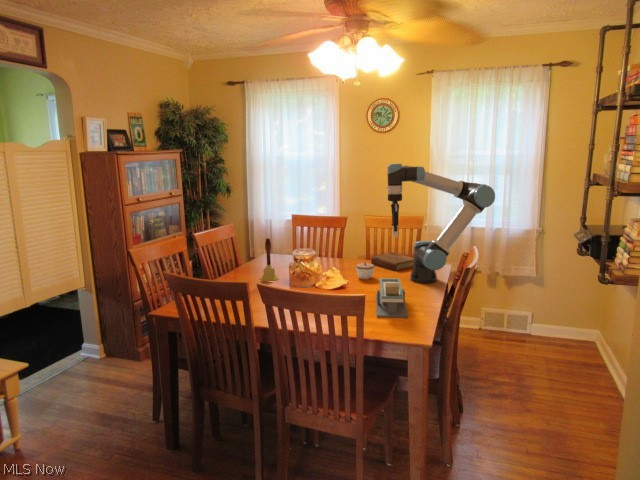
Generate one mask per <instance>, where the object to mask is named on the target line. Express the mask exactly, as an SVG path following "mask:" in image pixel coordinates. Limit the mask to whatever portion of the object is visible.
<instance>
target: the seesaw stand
mask: <svg viewBox="0 0 640 480" xmlns="http://www.w3.org/2000/svg"><path fill="white" fill-rule="evenodd" d="M376 291H377V292H376V293H375V302H376V303H375V307H376V318H380V317H384V318H385V319H387V318H388V319H390V318H391V319H401V318H402V319H408V318H409V315H408V310H407V306H406V291H405V289H402V292H403V296H404V299H403V302H381V290H380V289H379V288H378V289H376ZM386 317H387V318H386Z"/></svg>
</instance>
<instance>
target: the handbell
mask: <svg viewBox="0 0 640 480" xmlns="http://www.w3.org/2000/svg"><path fill="white" fill-rule="evenodd" d="M264 245H265V246H264V248H265V252H266V266H265V267H264V268H263V274H262V276H261V277H259V279H258V281H259V280H261V281H276V282H278V281H280V280H279V278H280V277H279V276H277V274H276V271H275V268H274V267H273V266H272V265H271V264H272V263H271V250H272V244H271V239H270V238H268V237H267V238H265V243H264ZM277 280H278V281H277ZM261 281H260V282H261Z"/></svg>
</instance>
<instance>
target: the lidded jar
mask: <svg viewBox="0 0 640 480" xmlns="http://www.w3.org/2000/svg"><path fill="white" fill-rule="evenodd" d="M355 268H356V269H355V270H356V273H357V276H358V277H359V278H360V280H361V279H362V280H369V279H371V278H372V277H373V275H374V272H375V265H373V264H371V262H370V263H369V262H360V263H357V264H356V266H355Z"/></svg>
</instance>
